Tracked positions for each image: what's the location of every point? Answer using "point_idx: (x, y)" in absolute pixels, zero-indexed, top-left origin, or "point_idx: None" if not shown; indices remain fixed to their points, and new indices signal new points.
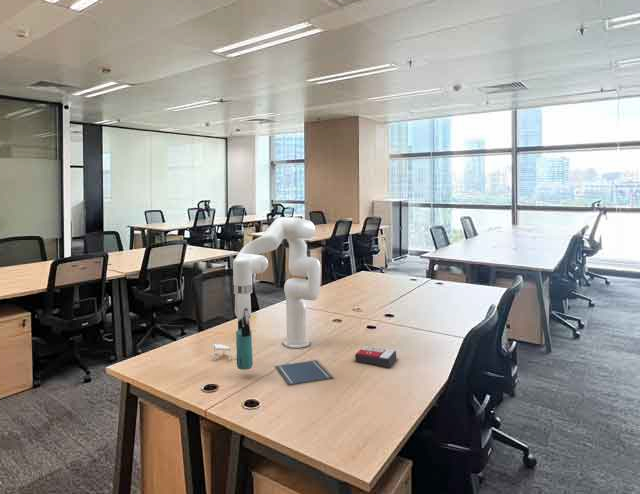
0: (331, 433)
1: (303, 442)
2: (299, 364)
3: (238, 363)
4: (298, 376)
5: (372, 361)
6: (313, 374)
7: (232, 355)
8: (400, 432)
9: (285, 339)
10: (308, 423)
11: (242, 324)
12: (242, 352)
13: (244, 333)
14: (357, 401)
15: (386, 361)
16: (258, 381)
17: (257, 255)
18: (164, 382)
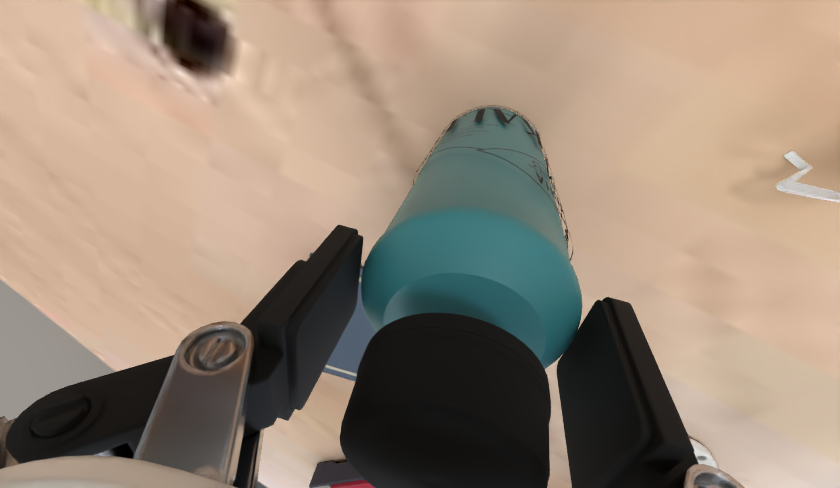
0: (3, 186)
1: None
2: None
3: (475, 115)
4: (358, 310)
5: (345, 468)
6: (353, 348)
7: (779, 186)
8: (35, 303)
9: (713, 464)
10: (47, 161)
11: (217, 368)
12: (426, 163)
13: (292, 269)
14: (169, 327)
15: (314, 479)
16: (395, 171)
17: None
18: None
